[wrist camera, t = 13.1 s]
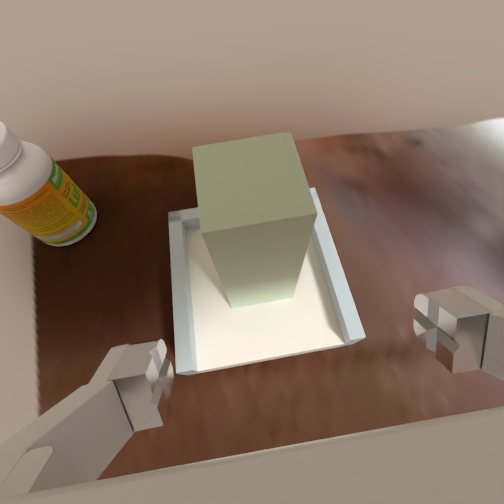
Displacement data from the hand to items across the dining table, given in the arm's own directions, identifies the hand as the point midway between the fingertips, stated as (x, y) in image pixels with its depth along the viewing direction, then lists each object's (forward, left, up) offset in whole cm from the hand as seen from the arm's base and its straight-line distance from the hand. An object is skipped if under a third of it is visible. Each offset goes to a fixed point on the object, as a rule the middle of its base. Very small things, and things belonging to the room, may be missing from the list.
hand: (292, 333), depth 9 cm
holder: (0, -6, -12) cm, 14 cm away
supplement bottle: (+16, -15, -13) cm, 26 cm away
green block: (0, -6, -11) cm, 13 cm away
